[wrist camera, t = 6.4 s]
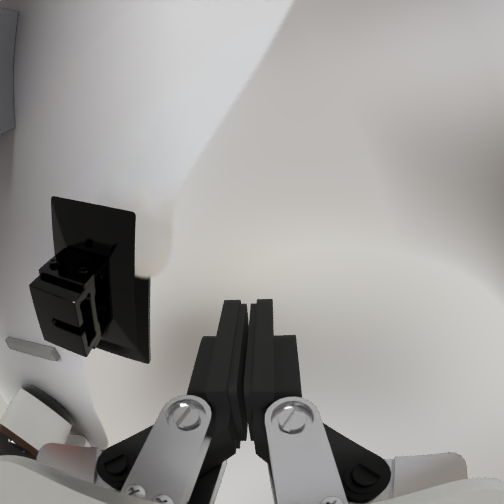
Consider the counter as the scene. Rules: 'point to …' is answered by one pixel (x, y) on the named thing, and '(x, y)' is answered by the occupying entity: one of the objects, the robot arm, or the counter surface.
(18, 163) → the counter surface
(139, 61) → the counter surface
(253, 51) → the counter surface
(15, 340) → the strip
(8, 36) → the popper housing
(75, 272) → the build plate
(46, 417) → the spread jar
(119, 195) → the counter surface
